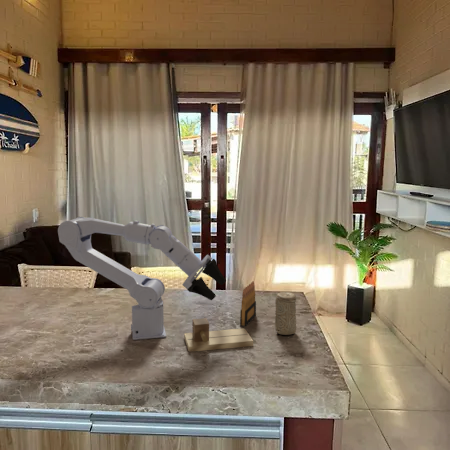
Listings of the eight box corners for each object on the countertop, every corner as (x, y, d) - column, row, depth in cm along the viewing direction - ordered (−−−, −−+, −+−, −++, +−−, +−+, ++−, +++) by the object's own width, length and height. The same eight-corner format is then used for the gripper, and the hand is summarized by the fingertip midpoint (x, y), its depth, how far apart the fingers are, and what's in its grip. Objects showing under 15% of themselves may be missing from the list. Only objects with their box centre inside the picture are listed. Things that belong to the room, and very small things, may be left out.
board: (188, 351, 113) (188, 346, 113) (184, 338, 122) (184, 333, 122) (253, 345, 117) (253, 340, 117) (244, 333, 126) (244, 328, 126)
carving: (291, 327, 130) (292, 290, 129) (299, 337, 123) (301, 298, 121) (271, 328, 130) (272, 291, 128) (278, 338, 122) (279, 298, 120)
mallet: (197, 350, 111) (197, 332, 110) (192, 335, 120) (192, 319, 119) (212, 349, 112) (212, 331, 111) (206, 334, 121) (206, 318, 120)
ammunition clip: (245, 327, 131) (246, 289, 129) (239, 326, 131) (240, 288, 130) (255, 315, 141) (256, 280, 139) (250, 314, 141) (251, 279, 140)
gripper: (179, 264, 113) (216, 298, 113) (202, 238, 124) (236, 269, 125) (166, 277, 117) (202, 310, 117) (189, 251, 128) (222, 281, 129)
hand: (219, 290), depth 121 cm, fingers open, 7 cm apart
